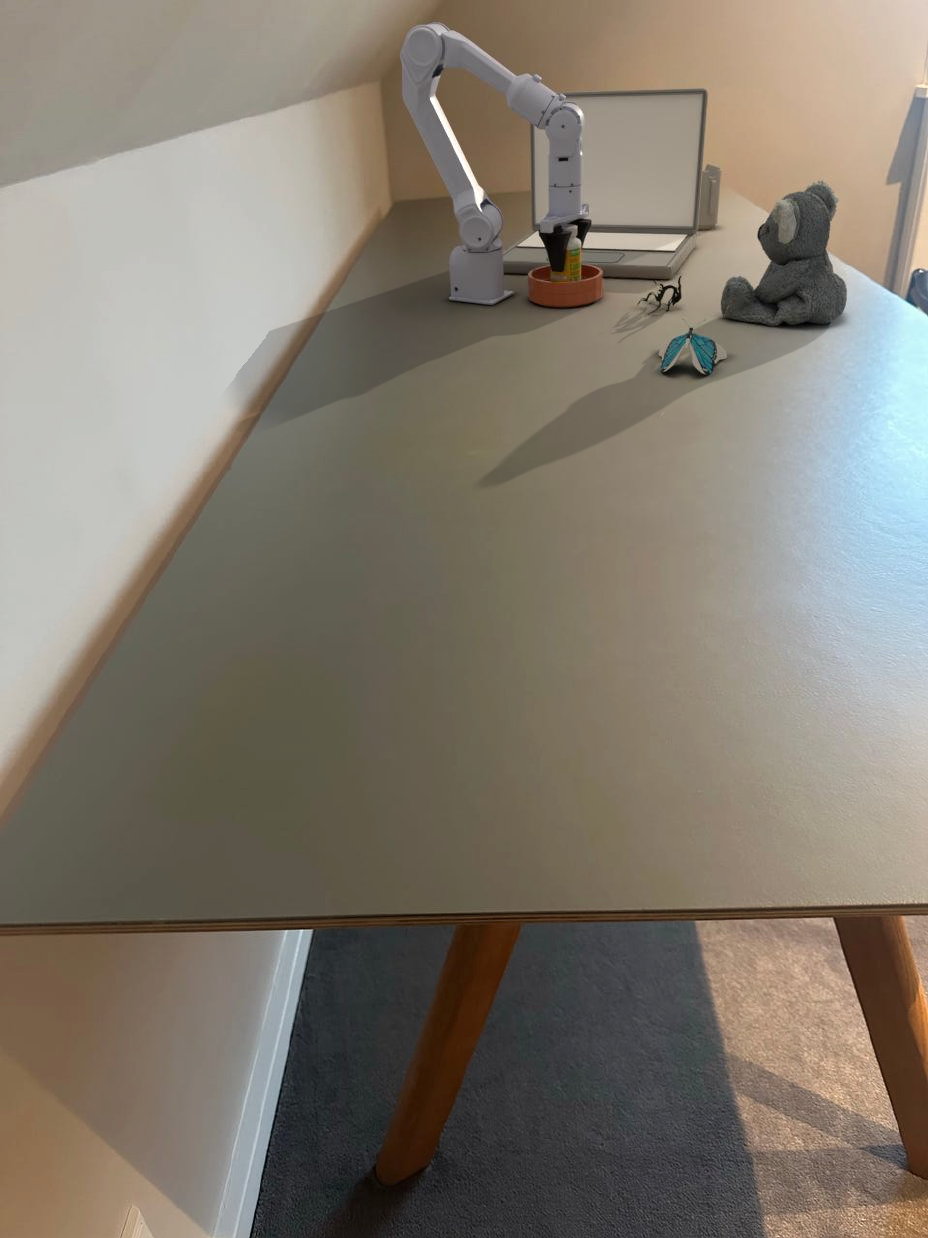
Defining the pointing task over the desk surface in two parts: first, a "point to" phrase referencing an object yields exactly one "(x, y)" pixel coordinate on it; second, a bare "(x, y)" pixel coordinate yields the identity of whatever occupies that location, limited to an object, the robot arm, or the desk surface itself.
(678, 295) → the creature
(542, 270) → the bowl
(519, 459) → the desk surface
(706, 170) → the cable organizer
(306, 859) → the desk surface
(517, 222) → the desk surface
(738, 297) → the koala plush
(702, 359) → the decorative butterfly
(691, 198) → the laptop
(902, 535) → the desk surface
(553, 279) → the supplement bottle
